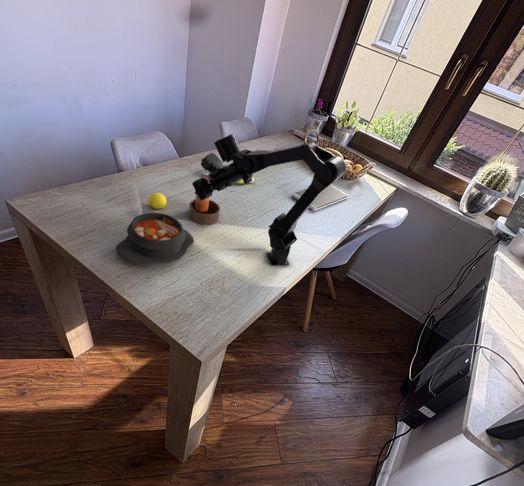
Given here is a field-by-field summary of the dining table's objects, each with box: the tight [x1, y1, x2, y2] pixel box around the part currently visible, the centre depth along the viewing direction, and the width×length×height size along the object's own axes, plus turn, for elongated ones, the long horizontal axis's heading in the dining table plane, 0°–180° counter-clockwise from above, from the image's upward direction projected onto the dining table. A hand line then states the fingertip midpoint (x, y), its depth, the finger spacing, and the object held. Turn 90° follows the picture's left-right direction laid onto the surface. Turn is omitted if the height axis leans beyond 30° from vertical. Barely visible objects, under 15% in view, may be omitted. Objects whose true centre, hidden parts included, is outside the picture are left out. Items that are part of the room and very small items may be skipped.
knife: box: [196, 167, 255, 184], centre depth 156 cm, size 8×3×25 cm
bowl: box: [187, 198, 221, 226], centre depth 130 cm, size 11×11×4 cm
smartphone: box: [291, 184, 349, 212], centre depth 164 cm, size 13×27×2 cm, turn 135°
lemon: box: [148, 192, 167, 210], centre depth 128 cm, size 7×5×5 cm
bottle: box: [194, 176, 211, 212], centre depth 126 cm, size 5×5×12 cm
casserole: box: [115, 212, 195, 267], centre depth 111 cm, size 25×19×8 cm
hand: (200, 191), depth 126 cm, fingers closed on bottle, 5 cm apart
